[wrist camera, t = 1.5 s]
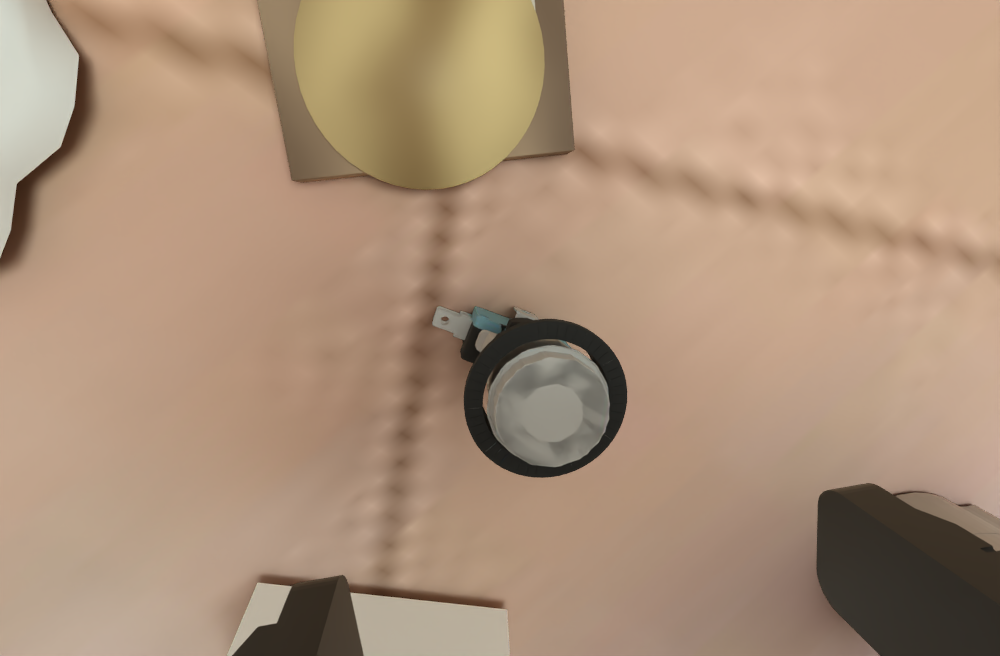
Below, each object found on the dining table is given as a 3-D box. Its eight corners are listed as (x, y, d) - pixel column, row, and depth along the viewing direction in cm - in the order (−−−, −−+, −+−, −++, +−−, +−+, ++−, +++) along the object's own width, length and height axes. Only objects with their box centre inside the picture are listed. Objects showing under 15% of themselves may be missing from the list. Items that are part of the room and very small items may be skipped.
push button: (416, 359, 25) (397, 450, 15) (455, 257, 24) (460, 285, 15) (541, 402, 26) (596, 513, 17) (582, 306, 25) (666, 363, 16)
